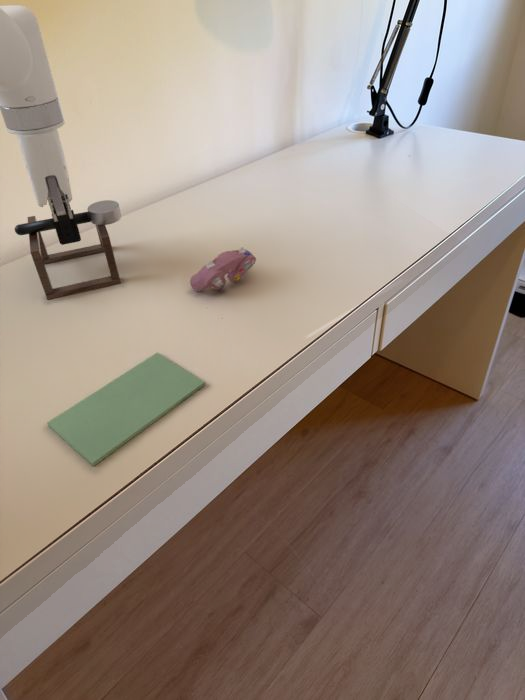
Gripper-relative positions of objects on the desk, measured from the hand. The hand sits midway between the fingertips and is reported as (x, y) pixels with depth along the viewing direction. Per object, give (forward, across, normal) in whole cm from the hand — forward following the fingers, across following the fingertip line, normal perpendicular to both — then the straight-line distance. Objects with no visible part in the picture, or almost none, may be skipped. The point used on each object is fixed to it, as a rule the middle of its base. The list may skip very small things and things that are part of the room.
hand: (70, 238), depth 83 cm
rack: (+6, 0, 0) cm, 6 cm away
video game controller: (+6, +14, +20) cm, 26 cm away
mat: (+6, +34, +2) cm, 35 cm away
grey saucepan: (-2, 0, +1) cm, 2 cm away
